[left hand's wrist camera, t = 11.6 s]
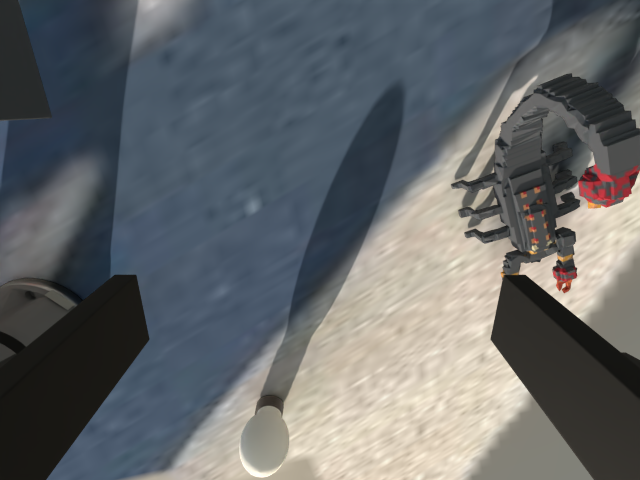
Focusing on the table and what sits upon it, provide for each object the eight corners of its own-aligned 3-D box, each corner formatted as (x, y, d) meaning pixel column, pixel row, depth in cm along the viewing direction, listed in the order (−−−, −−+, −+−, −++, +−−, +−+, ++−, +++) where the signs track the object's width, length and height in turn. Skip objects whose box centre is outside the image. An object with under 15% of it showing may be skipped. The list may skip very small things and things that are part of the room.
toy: (550, 61, 38) (741, 22, 21) (583, 269, 47) (736, 363, 29) (430, 111, 40) (515, 113, 22) (483, 302, 48) (573, 409, 31)
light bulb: (248, 418, 56) (231, 488, 45) (250, 384, 53) (234, 450, 43) (290, 422, 56) (283, 493, 46) (294, 389, 54) (288, 456, 43)
